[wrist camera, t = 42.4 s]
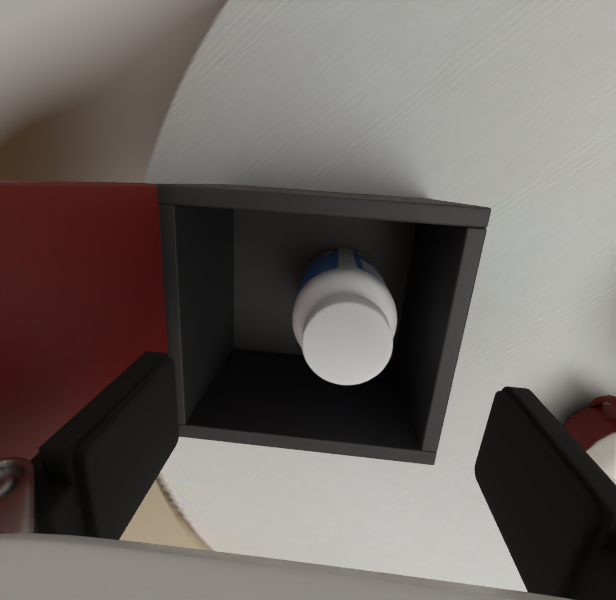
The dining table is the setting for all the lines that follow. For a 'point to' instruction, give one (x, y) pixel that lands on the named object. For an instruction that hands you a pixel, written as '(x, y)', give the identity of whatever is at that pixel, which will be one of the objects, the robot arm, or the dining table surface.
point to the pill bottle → (344, 317)
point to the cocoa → (597, 432)
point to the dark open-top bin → (279, 307)
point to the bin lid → (73, 299)
